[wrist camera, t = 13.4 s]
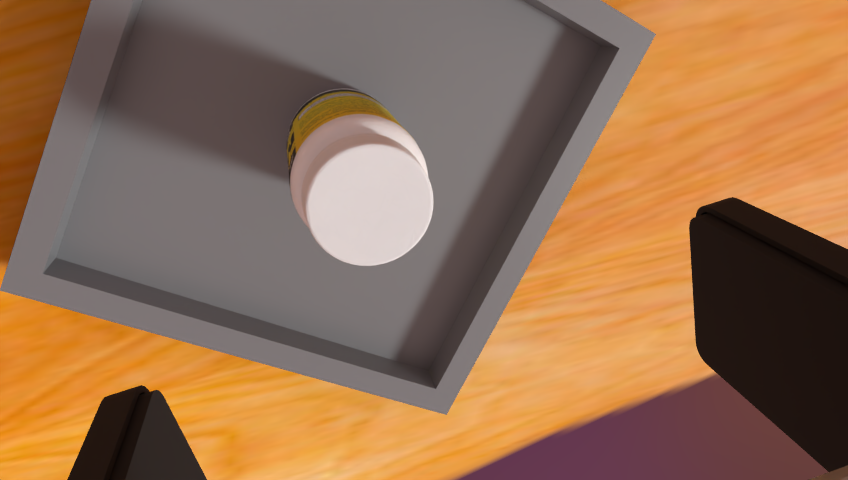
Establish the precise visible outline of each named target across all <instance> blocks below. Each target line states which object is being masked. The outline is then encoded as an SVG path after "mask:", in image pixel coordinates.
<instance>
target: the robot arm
mask: <svg viewBox="0 0 848 480" xmlns="http://www.w3.org/2000/svg"><path fill="white" fill-rule="evenodd" d="M689 230H690V248H691V265H692V283H693V300H694V318H695V335H696V346H697V349H698V352H699V354H700V356H701V358H702V359H703V361H704V362H705V363H706V364H707V365H708V366H709V367H711V368H712V369H713V370H714V371H715V372H716V373H717V374H719V375H720V376H721V377H722V378H723V379H724V380H725V381H726V382H728V383H729V384H730V385H731V386H732V387H733V388H734V389H736V390H737V391H738V392H739V393H740V394H741V395H742V396H743V397H745V398H746V399H747V400H748V401H749V402H750V403H752V404H753V405H754V406H755V407H756V408H757V409H758V410H759V411H760V412H762V413H763V414H764V415H765V416H766V417H767V418H768V419H770V420H771V421H772V422H773V423H774V424H775V425H776V426H777V427H779V428H780V429H781V430H782V431H783V432H784V433H786V435H788V436H789V437H790V438H791V439H792V440H793V441H795V442H796V443H797V444H798V445H799V446H800V447H801V448H802V449H803V450H805V451H806V452H807V453H808V454H809V455H810V456H811V457H813V458H814V459H815V460H816V461H817V462H818V463H819V464H820V465H822V466H823V467H824V468H825V469H826V470H827V471H828V472H829V473H826V474H823V475H820V476H818V477H815V478H812V479H810V480H848V249H846V248H844V247H841V246H839V245H837V244H835V243H833V242H831V241H828V240H826V239H824V238H822V237H820V236H818V235H815V234H813V233H811V232H809V231H807V230H805V229H802V228H800V227H798V226H796V225H794V224H792V223H789V222H787V221H785V220H783V219H781V218H779V217H776V216H774V215H772V214H770V213H768V212H765V211H763V210H761V209H759V208H757V207H755V206H752V205H750V204H748V203H746V202H744V201H742V200H739V199H737V198H733V197H732V198H728V199H724V200H721V201H718V202H715V203H712V204H709V205H706V206H702V207H700V208H699V209H698V211H697V213H696V217H695V218H693V219H692V220H691V221H690V227H689ZM67 480H207V479H206V477H205V475H204V473H203V471H202V469H201V467H200V465H199V464H198V462H197V460H196V458H195V456H194V454H193V452H192V450H191V448H190V446H189V444H188V442H187V440H186V439H185V437H184V435H183V433H182V431H181V429H180V427H179V425H178V423H177V421H176V419H175V417H174V415H173V414H172V412H171V410H170V408H169V406H168V404H167V402H166V400H165V398H164V396H163V395H162V393H161V392H160V391H158V390H154V391H151V392H149V390H148V389H147V388H146V387H145V386H142V385H141V386H138V387H135V388H131V389H128V390H125V391H122V392H119V393H116V394H113V395H109V396H107V397H104V399H103V400H102V401H101V404H100V406H99V408H98V411H97V413H96V415H95V417H94V420H93V422H92V424H91V427H90V429H89V431H88V434H87V436H86V438H85V440H84V443H83V445H82V447H81V450H80V452H79V454H78V456H77V459H76V461H75V463H74V466H73V468H72V470H71V473H70V475H69V477H68V479H67Z"/></svg>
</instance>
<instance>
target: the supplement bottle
mask: <svg viewBox="0 0 848 480" xmlns="http://www.w3.org/2000/svg"><path fill="white" fill-rule="evenodd" d="M287 157H288V168H289V184H290V191H291V196H292V200H293V203H294V205H295V208H296V210H297V212H298V214H299V215H300V217H301V219H302V220H303V222H304V223H305V224H306V225H307V227H308V228H309V230H310V232H311V234H312V235H313V237H314V239H315V240H316V242H317V243H318V244H319V245H320V246H321V247H322V248H323V249H324V250H325V251H326V252H327V253H328V254H330V255H331V256H333V257H335V258H337V259H338V260H341V261H343V262H346V263H349V264H353V265H359V266H373V265H380V264H384V263H388V262H390V261H393V260H395V259H397V258H399V257H401V256H402V255H404V254H405V253H407V252H408V251H409V250H410V249H412V248H413V247H414V246H415V245H416V244H417V243H418V242H419V240H420V239H421V238H422V236H423V235H424V233H425V232H426V230H427V228H428V225H429V223H430V220H431V217H432V212H433V191H432V187H431V183H430V180H429V178H428V170H427V166H426V162H425V159H424V156H423V154H422V152H421V150H420V149H419V147H418V145H417V143H416V142H415V140H414V139H413V138H412V136H411V135H410V134H409V133H408V132H407V131H406V130H405V129H404V128H403V127H402V126H401V125H400V124H399V123H398V121H397V120H396V119H395V118H394V117H393V116H392V115H391V113H390V112H389V111H388V110H387V109H386V108H385V107H384V106H383V105H382V104H381V103H380V102H379V101H378V100H376V99H375V98H373V97H372V96H370V95H368V94H366V93H364V92H361V91H358V90H354V89H342V88H341V89H332V90H328V91H325V92H322V93H319V94H317V95H316V96H314V97H312V98H311V99H309V100H308V101H307V102H306V103H304V104H303V105H302V106H301V108H300V109H299V110H298V111H297V113H296V114H295V116H294V118H293V119H292V122H291V124H290V127H289V130H288V135H287Z"/></svg>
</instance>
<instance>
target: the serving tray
mask: <svg viewBox="0 0 848 480" xmlns="http://www.w3.org/2000/svg"><path fill="white" fill-rule="evenodd" d="M655 35H656V34H655V33H653V32H651V31H650V30H648V29H647V28H645V27H643V26H642V25H640V24H638V23H637V22H635V21H633V20H632V19H630V18H629V17H627V16H625V15H624V14H622V13H620V12H619V11H617V10H616V9H614V8H612V7H611V6H609V5H607V4H606V3H604V2H603V1H601V0H91V3H90V6H89V9H88V12H87V15H86V19H85V22H84V25H83V28H82V31H81V34H80V38H79V41H78V44H77V47H76V50H75V53H74V57H73V60H72V63H71V66H70V69H69V72H68V76H67V79H66V82H65V85H64V88H63V92H62V95H61V98H60V101H59V104H58V107H57V111H56V114H55V117H54V120H53V123H52V126H51V130H50V133H49V136H48V139H47V142H46V145H45V149H44V152H43V155H42V158H41V161H40V164H39V168H38V171H37V174H36V177H35V180H34V184H33V187H32V190H31V193H30V196H29V199H28V203H27V206H26V209H25V212H24V215H23V218H22V222H21V225H20V228H19V231H18V234H17V237H16V241H15V244H14V247H13V250H12V253H11V256H10V260H9V263H8V266H7V269H6V272H5V276H4V279H3V282H2V285H1V288H0V291H4V292H7V293H11V294H15V295H18V296H22V297H25V298H29V299H33V300H36V301H40V302H43V303H47V304H51V305H54V306H58V307H61V308H65V309H69V310H72V311H76V312H79V313H83V314H86V315H90V316H94V317H97V318H101V319H104V320H108V321H112V322H115V323H119V324H122V325H126V326H130V327H133V328H137V329H140V330H144V331H148V332H151V333H155V334H158V335H162V336H165V337H169V338H173V339H176V340H180V341H183V342H187V343H191V344H194V345H198V346H201V347H205V348H209V349H212V350H216V351H219V352H223V353H227V354H230V355H234V356H237V357H241V358H244V359H248V360H252V361H255V362H259V363H262V364H266V365H270V366H273V367H277V368H280V369H284V370H288V371H291V372H295V373H298V374H302V375H306V376H309V377H313V378H316V379H320V380H323V381H327V382H331V383H334V384H338V385H341V386H345V387H349V388H352V389H356V390H359V391H363V392H367V393H370V394H374V395H377V396H381V397H385V398H388V399H392V400H395V401H399V402H403V403H406V404H410V405H413V406H417V407H420V408H424V409H428V410H431V411H435V412H438V413H442V414H446V415H447V413H448V411H449V409H450V407H451V406H452V404H453V402H454V400H455V398H456V396H457V395H458V393H459V391H460V389H461V387H462V386H463V384H464V382H465V380H466V378H467V376H468V375H469V373H470V371H471V369H472V367H473V366H474V364H475V362H476V360H477V358H478V356H479V355H480V353H481V351H482V349H483V347H484V346H485V344H486V342H487V340H488V338H489V336H490V335H491V333H492V331H493V329H494V327H495V326H496V324H497V322H498V320H499V318H500V317H501V315H502V313H503V311H504V309H505V307H506V306H507V304H508V302H509V300H510V298H511V297H512V295H513V293H514V291H515V289H516V287H517V286H518V284H519V282H520V280H521V278H522V277H523V275H524V273H525V271H526V269H527V267H528V266H529V264H530V262H531V260H532V258H533V257H534V255H535V253H536V251H537V249H538V247H539V246H540V244H541V242H542V240H543V238H544V237H545V235H546V233H547V231H548V229H549V227H550V226H551V224H552V222H553V220H554V218H555V217H556V215H557V213H558V211H559V209H560V207H561V206H562V204H563V202H564V200H565V198H566V197H567V195H568V193H569V191H570V189H571V188H572V186H573V184H574V182H575V180H576V178H577V177H578V175H579V173H580V171H581V169H582V168H583V166H584V164H585V162H586V160H587V158H588V157H589V155H590V153H591V151H592V149H593V148H594V146H595V144H596V142H597V140H598V138H599V137H600V135H601V133H602V131H603V129H604V128H605V126H606V124H607V122H608V120H609V118H610V117H611V115H612V113H613V111H614V109H615V108H616V106H617V104H618V102H619V100H620V98H621V97H622V95H623V93H624V91H625V89H626V88H627V86H628V84H629V82H630V80H631V78H632V77H633V75H634V73H635V71H636V69H637V68H638V66H639V64H640V62H641V60H642V58H643V57H644V55H645V53H646V51H647V49H648V48H649V46H650V44H651V42H652V40H653V39H654V37H655ZM341 88H342V89H354V90H358V91H361V92H364V93H366V94H368V95H370V96H372V97H373V98H375V99H376V100H378V101H379V102H380V103H381V104H382V105H383V106H384V107H385V108H386V109H387V110H388V111H389V112H390V113H391V115H392V116H393V117H394V118H395V119H396V120H397V121H398V123H399V124H400V125H401V126H402V127H403V128H404V129H405V130H406V131H407V132H408V133H409V134H410V135H411V136H412V138H413V139H414V140H415V142H416V143H417V145H418V147H419V149H420V150H421V152H422V154H423V156H424V159H425V162H426V166H427V170H428V178H429V180H430V183H431V187H432V191H433V212H432V217H431V220H430V223H429V225H428V228H427V230H426V232H425V233H424V235H423V236H422V238H421V239H420V240H419V242H418V243H417V244H416V245H415V246H414V247H413V248H412V249H410V250H409V251H408V252H407V253H405V254H404V255H402V256H401V257H399V258H397V259H395V260H393V261H390V262H388V263H384V264H380V265H373V266H359V265H353V264H349V263H346V262H343V261H341V260H338V259H337V258H335V257H333V256H331V255H330V254H328V253H327V252H326V251H325V250H324V249H323V248H322V247H321V246H320V245H319V244H318V243H317V242H316V240H315V239H314V237H313V235H312V234H311V232H310V230H309V228H308V227H307V225H306V224H305V223H304V222H303V220H302V219H301V217H300V215H299V214H298V212H297V210H296V208H295V205H294V203H293V200H292V196H291V191H290V184H289V168H288V157H287V135H288V130H289V127H290V124H291V122H292V119H293V118H294V116H295V114H296V113H297V111H298V110H299V109H300V108H301V106H302V105H303V104H304V103H306V102H307V101H308V100H309V99H311V98H312V97H314V96H316V95H317V94H319V93H322V92H325V91H328V90H332V89H341Z"/></svg>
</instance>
